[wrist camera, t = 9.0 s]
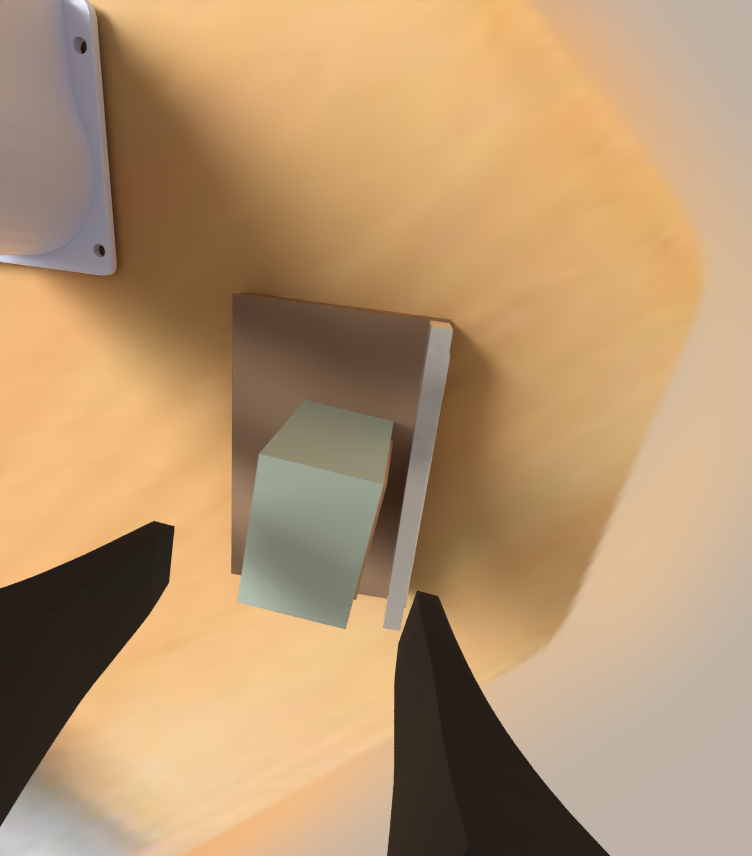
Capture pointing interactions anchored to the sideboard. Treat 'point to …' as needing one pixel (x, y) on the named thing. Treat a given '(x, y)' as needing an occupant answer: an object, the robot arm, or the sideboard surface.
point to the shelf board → (322, 394)
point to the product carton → (315, 513)
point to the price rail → (418, 468)
